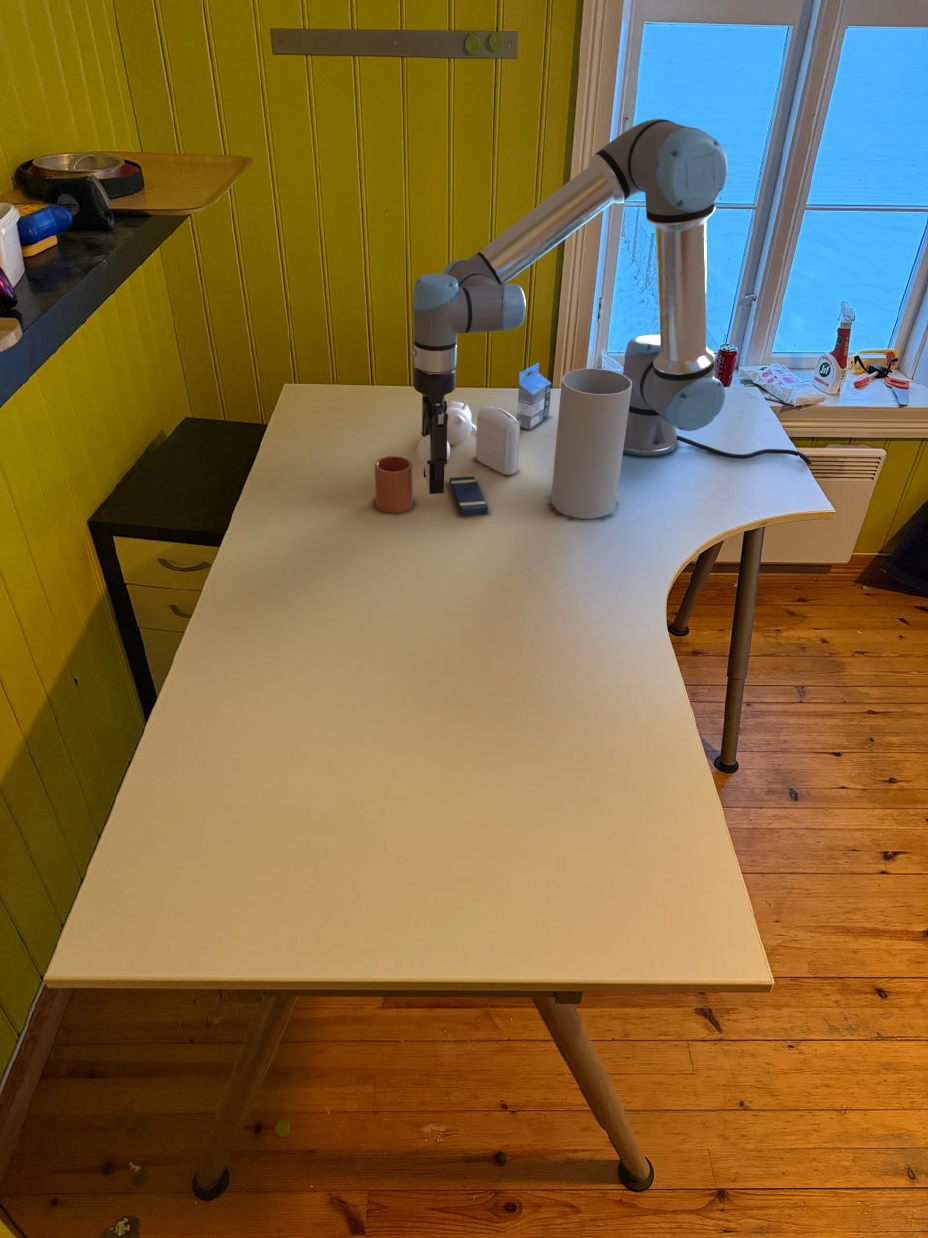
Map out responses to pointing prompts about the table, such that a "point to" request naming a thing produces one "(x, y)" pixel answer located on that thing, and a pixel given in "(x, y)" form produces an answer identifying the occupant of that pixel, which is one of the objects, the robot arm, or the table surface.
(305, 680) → the table surface
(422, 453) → the lightbulb
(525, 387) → the ink cartridge box
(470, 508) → the towel
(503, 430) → the photo printer
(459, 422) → the cat figurine
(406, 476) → the pot
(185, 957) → the table surface
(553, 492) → the cylinder vase
